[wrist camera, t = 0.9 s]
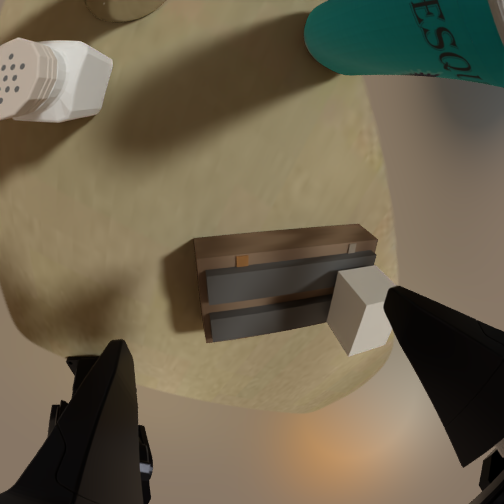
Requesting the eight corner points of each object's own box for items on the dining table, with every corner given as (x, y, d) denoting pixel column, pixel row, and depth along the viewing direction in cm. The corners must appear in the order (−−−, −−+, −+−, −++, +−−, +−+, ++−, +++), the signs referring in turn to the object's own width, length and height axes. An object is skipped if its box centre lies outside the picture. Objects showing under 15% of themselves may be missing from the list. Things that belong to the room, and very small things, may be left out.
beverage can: (331, 90, 17) (530, 124, 5) (278, 31, 15) (465, -39, 2) (376, 52, 16) (555, 64, 4) (331, -4, 13) (504, -53, 1)
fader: (368, 258, 22) (405, 295, 17) (355, 306, 24) (384, 344, 20) (331, 263, 21) (366, 305, 17) (321, 313, 23) (348, 356, 19)
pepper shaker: (64, 55, 12) (-15, 33, 4) (117, 58, 13) (64, 23, 5) (50, 111, 13) (-36, 131, 5) (101, 116, 15) (35, 133, 7)
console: (358, 223, 24) (383, 244, 21) (342, 296, 28) (361, 320, 25) (193, 238, 21) (197, 265, 18) (202, 318, 25) (207, 350, 22)
